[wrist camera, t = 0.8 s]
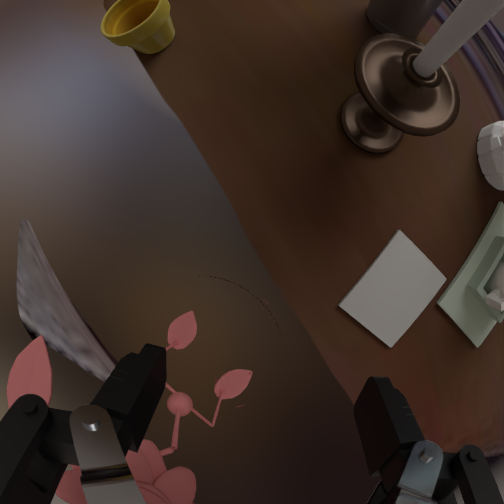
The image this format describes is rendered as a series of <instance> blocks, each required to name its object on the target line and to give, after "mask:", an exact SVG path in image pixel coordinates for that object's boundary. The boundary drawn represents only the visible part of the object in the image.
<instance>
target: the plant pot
mask: <svg viewBox="0 0 504 504" xmlns="http://www.w3.org/2000/svg"><path fill="white" fill-rule="evenodd" d="M169 13H170V4H169V2H168V0H118V1H117V2H116V3H114V4H113V5H112V7H111V8H110V9H109V10H108V11H107V13H106V14H105V16H104V18H103V20H102V23H101V32H102V34H103V35H104V36H105V37H106V38H108V39H109V40H110V41H111V42H113V43H115V44H116V45H118V46H129V47H131V48H133V49H136V50H138V51H140V52H142V53H145V54H154V53H157V52H159V51H161V50H163V49H165V48H166V47H167V46H168V45H169V44H170V43H171V42H172V40H173V39H174V36H175V29H174V27H173V24H172V21H171V18H170V14H169Z"/></svg>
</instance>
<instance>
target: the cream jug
mask: <svg viewBox="0 0 504 504" xmlns="http://www.w3.org/2000/svg"><path fill="white" fill-rule="evenodd" d="M483 288H484V290H485V292H486V293H487V294H488V295H486V296H485V298H486V304H488V305H490V306H492V307H494V308H495V309H497V310H499V311H501V312H502V311H503V310H504V261H502V260H500V261H499V263H498V264H497V266H496V268H495V269H494V271H493V273H492V275H491V276H490V278H489V279H488V281H487V283H486V284H485V286H484V287H483Z"/></svg>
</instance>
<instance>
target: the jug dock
mask: <svg viewBox="0 0 504 504" xmlns="http://www.w3.org/2000/svg"><path fill="white" fill-rule="evenodd" d="M500 260H502V261H504V204H503V202H502V201H499V203H498V205H497V207H496V209H495V211H494V213H493V215H492V217H491V218H490V220H489V222H488V224H487V226H486V228H485V229H484V231H483V233H482V235H481V237H480V238H479V240H478V242H477V243H476V245H475V247H474V248H473V250H472V252H471V253H470V255H469V256H468V258H467V260H466V261H465V263H464V264H463V266H462V267H461V269H460V270H459V272H458V273H457V275H456V276H455V278H454V279H453V281H452V282H451V283H450V285H449V286H448V288H447V289H446V290H445V292H444V293H443V294H442V296H441V297H440V299H439V300H438V301H437V302H436V303H437V304H438V305H439V306H440V307H441V308H442V309H443V310H444V311H445V312H446V313H447V314H448V315H449V316H450V318H451V319H452V320H453V321H454V322H455V323H456V324H457V325H458V326H459V328H460V329H461V330H462V331H463V332H464V333H465V334H466V336H467V337H468V338H469V339H470V340H471V341H472V343H473V344H474V345H475V346H476V347H477V348H478V347H479V346H480V345H481V343H482V342H483V341H484V339H485V338H486V337H487V335H488V334H489V332H490V331H491V330H492V328H493V327H494V325H495V324H496V322H499V323H501V322H502V320H503V319H504V310H503V311H502V312H501V311H499V310H497V309H495V308H494V307H492V306H490V305H488V304H486V298H485V296H486V295H488V294H487V293H486V292H485V290H484V288H483V287H484V286H485V284H486V283H487V281H488V279H489V278H490V276H491V275H492V273H493V271H494V269H495V268H496V266H497V264H498V263H499V261H500Z"/></svg>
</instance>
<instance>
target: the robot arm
mask: <svg viewBox="0 0 504 504" xmlns="http://www.w3.org/2000/svg"><path fill="white" fill-rule="evenodd" d="M442 1H443V0H370V2H369V5H368V8H367V17H368V19H369V21H370V23H371V24H372V25H373V26H374V27H375V28H376V29H377V30H378V31H380V32H381V33H382V34H384V33H394V34H400V35H405V36H408V37H410V38H413V39H415V38H416V37H417V36H418V34H419V33H420V32H421V30H422V29H423V27H424V26H425V25H426V23H427V22H428V21H429V19H430V18H431V16H432V15H433V14H434V12H435V11H436V9H437V8H438V7H439V5H440V4H441V2H442ZM166 375H167V373H166V349H165V348H163V347H160V346H156V345H152V344H148V343H147V344H145V345H144V347H143V348H142V350H141V352H140V353H139V354H136V353H132V352H131V353H130V354H128V355H126V356H125V357H123V358H121V360H120V361H119V363H118V364H117V365H116V367H115V369H114V370H113V371H112V373H111V374H110V376H109V377H108V379H107V380H106V382H105V383H104V384H103V386H102V388H101V389H100V391H99V392H98V394H97V395H96V397H95V398H94V399H93V401H92V402H91V404H88V405H82V406H79V407H77V408H76V409H75V410H74V411H65V410H59V409H54V408H49V407H48V405H47V403H46V401H45V400H44V399H43V398H42V397H40V396H38V395H35V394H25V395H22V396H20V397H19V398H18V399H17V400H16V401H15V402H14V403H13V405H12V406H11V407H10V409H9V410H8V412H7V413H6V414H5V416H4V417H3V418H2V420H1V421H0V504H51V501H52V499H53V497H54V494H55V492H56V490H57V487H58V485H59V483H60V481H61V478H62V476H63V474H64V472H65V470H66V467H67V465H68V464H71V465H76V466H80V469H81V474H82V476H80V481H81V485H82V489H83V492H84V495H85V498H86V501H87V503H88V504H146V502H145V500H144V498H143V496H142V494H141V492H140V490H139V488H138V486H137V484H136V481H135V479H134V477H133V475H132V473H131V470H130V468H129V466H128V464H127V461H126V459H125V457H126V455H127V452H128V450H130V451H133V452H136V453H138V450H139V448H140V445H141V443H142V441H143V438H144V436H145V433H146V431H147V429H148V426H149V424H150V422H151V419H152V417H153V414H154V412H155V410H156V407H157V405H158V403H159V401H160V398H161V396H162V394H163V391H164V389H165V385H166V377H167V376H166ZM354 418H355V421H356V425H357V429H358V432H359V436H360V440H361V443H362V447H363V451H364V455H365V459H366V463H367V467H368V471H369V475H370V477H374V476H381V479H382V480H381V481H380V482H379V483H378V485H377V487H376V488H375V490H374V492H373V494H372V496H371V497H370V499H369V501H368V502H367V504H457V501H456V498H455V495H454V491H455V490H457V489H458V488H460V491H461V494H462V497H463V500H464V503H465V504H504V502H503V499H502V497H501V494H500V492H499V489H498V486H497V484H496V482H495V479H494V477H493V474H492V472H491V470H490V467H489V465H488V463H487V461H486V459H485V456H484V454H483V452H482V451H481V450H480V449H479V448H478V447H477V446H474V445H465V446H464V447H462V448H461V450H460V451H459V452H458V453H447V452H442V450H441V448H440V447H439V446H438V445H437V444H435V443H434V442H431V441H427V440H425V439H424V437H423V434H422V432H421V430H420V428H419V426H418V423H417V421H416V419H415V417H414V415H412V411H411V409H410V407H409V404H408V402H407V400H406V398H405V396H404V395H403V394H402V393H401V392H400V391H399V390H398V389H394V387H393V385H392V383H391V381H390V379H389V378H388V377H369V378H368V380H367V381H366V383H365V385H364V387H363V389H362V391H361V393H360V395H359V397H358V398H357V400H356V402H355V405H354Z"/></svg>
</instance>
